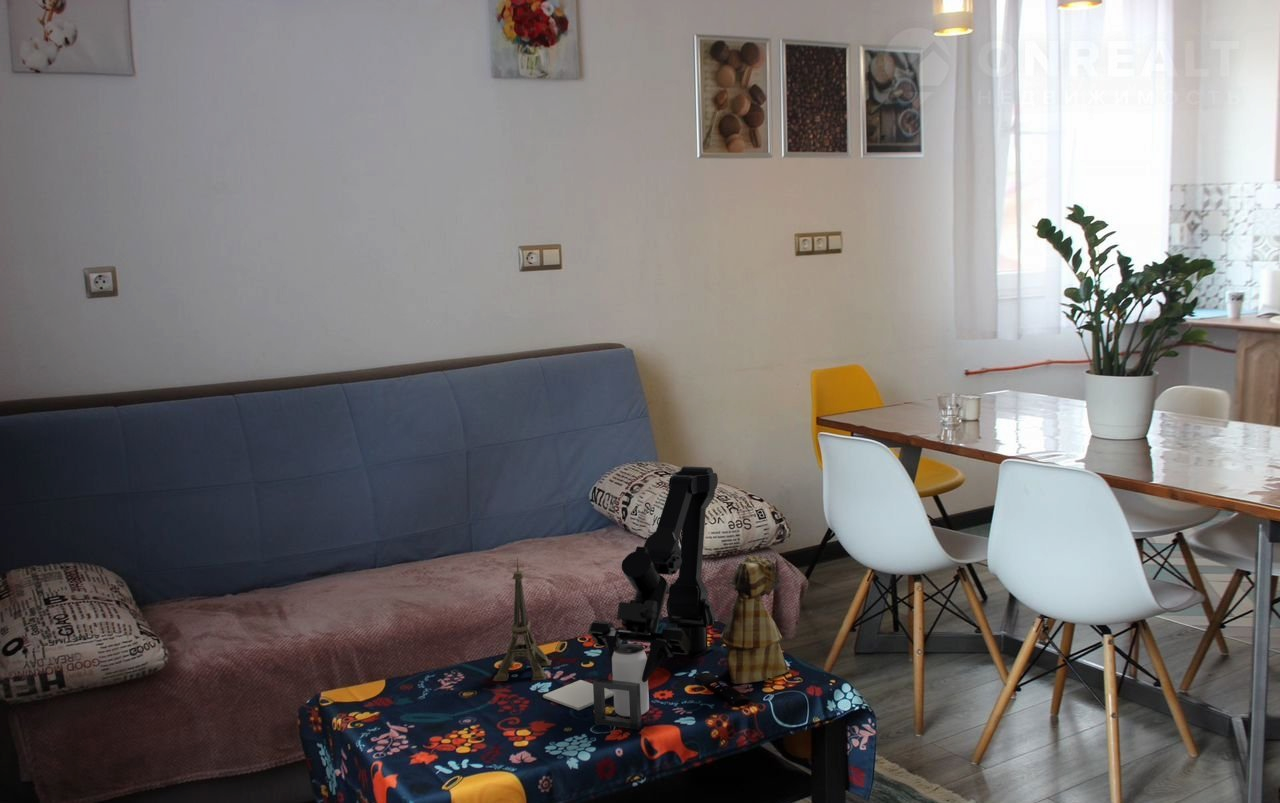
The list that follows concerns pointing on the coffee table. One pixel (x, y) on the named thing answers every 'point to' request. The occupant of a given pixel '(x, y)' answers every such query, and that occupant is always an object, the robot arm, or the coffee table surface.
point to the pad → (576, 695)
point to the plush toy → (753, 625)
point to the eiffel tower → (524, 647)
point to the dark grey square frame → (633, 701)
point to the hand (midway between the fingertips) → (628, 679)
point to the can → (629, 676)
